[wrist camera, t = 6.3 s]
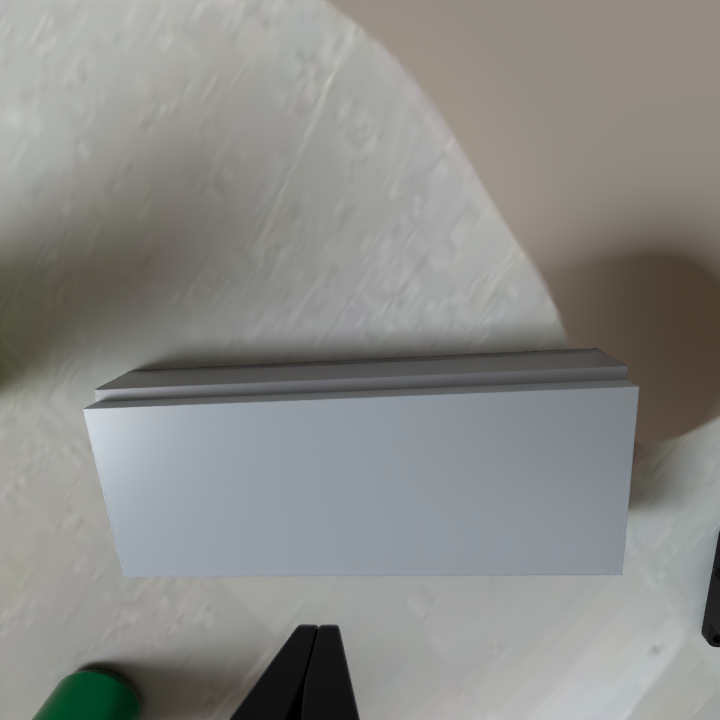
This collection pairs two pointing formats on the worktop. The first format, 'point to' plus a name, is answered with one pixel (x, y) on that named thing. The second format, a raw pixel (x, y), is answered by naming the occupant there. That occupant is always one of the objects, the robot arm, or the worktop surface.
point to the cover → (371, 481)
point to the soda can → (91, 698)
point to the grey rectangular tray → (366, 375)
